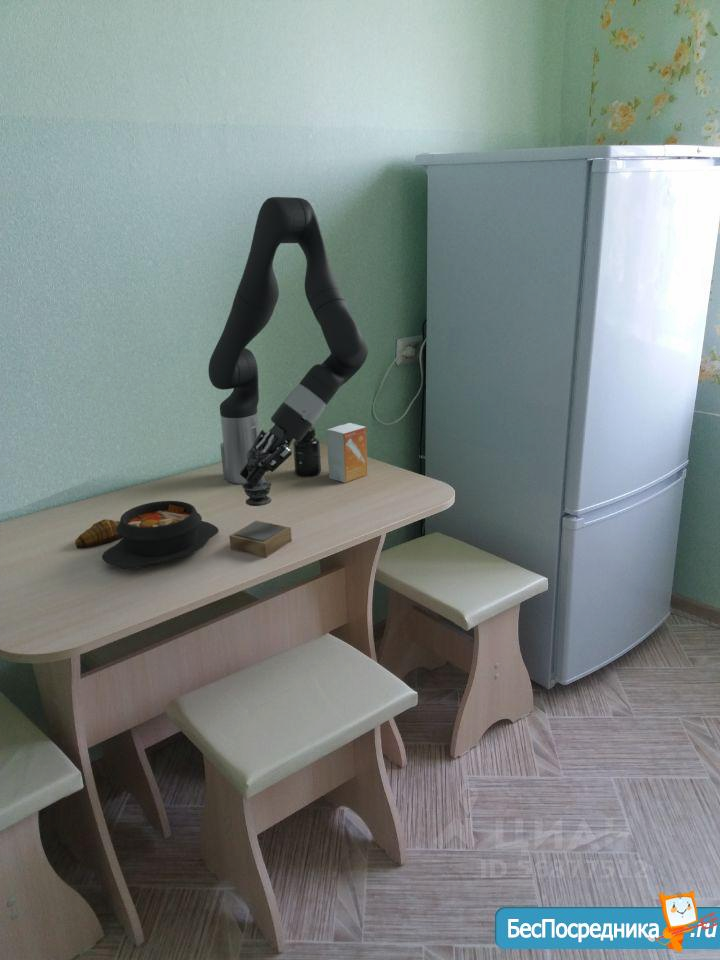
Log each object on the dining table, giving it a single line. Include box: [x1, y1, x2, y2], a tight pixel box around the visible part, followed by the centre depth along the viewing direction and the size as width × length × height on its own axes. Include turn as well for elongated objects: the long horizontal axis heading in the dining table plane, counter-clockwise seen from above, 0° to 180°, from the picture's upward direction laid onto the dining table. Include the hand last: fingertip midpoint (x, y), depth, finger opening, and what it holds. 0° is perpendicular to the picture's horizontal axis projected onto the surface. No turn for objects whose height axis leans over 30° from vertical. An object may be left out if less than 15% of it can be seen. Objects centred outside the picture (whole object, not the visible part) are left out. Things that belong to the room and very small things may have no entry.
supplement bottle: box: [292, 426, 322, 478], centre depth 203 cm, size 7×7×12 cm
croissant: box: [74, 518, 122, 549], centre depth 168 cm, size 14×7×5 cm, turn 131°
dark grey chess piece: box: [241, 445, 273, 507], centre depth 158 cm, size 6×6×12 cm
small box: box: [326, 422, 368, 484], centre depth 199 cm, size 8×6×13 cm
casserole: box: [101, 500, 220, 569], centre depth 161 cm, size 25×19×8 cm
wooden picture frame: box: [228, 520, 293, 558], centre depth 163 cm, size 9×9×3 cm
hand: (246, 479), depth 158 cm, fingers closed on dark grey chess piece, 3 cm apart
